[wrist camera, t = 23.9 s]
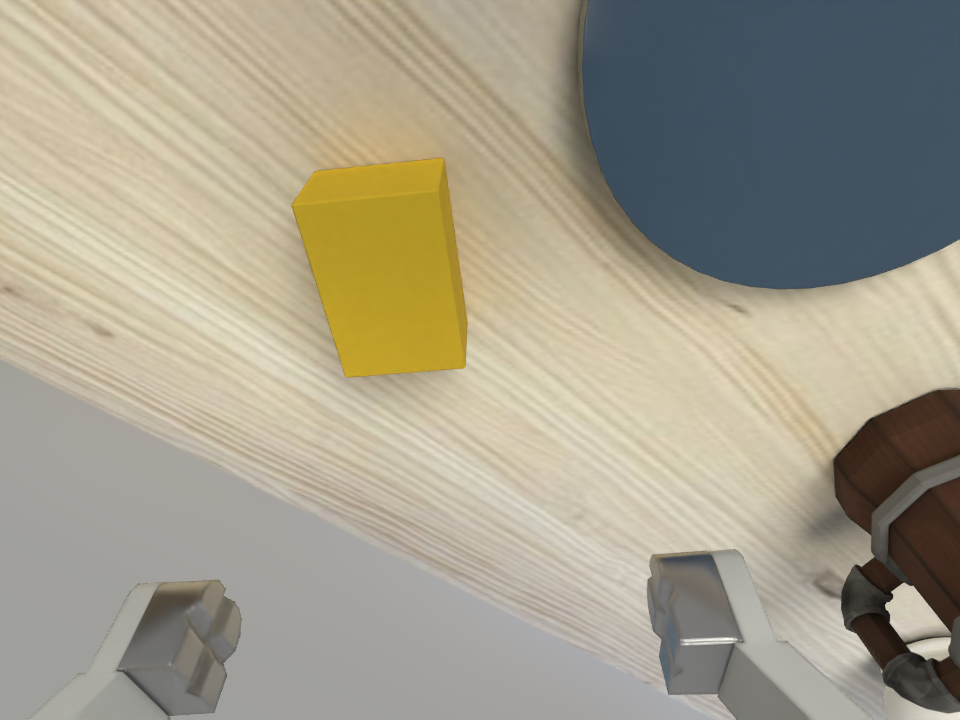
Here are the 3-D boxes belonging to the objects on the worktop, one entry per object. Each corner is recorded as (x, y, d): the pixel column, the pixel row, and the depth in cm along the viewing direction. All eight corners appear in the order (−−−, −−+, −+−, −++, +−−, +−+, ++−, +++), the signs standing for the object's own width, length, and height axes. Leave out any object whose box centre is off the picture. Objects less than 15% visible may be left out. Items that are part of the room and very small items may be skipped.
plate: (574, -353, 17) (581, -374, 16) (1402, -491, 15) (1479, -526, 14) (578, 293, 30) (582, 308, 29) (1026, 253, 29) (1050, 268, 27)
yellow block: (313, 170, 26) (290, 204, 23) (444, 156, 26) (438, 189, 23) (359, 332, 32) (345, 378, 29) (467, 323, 31) (465, 369, 28)
